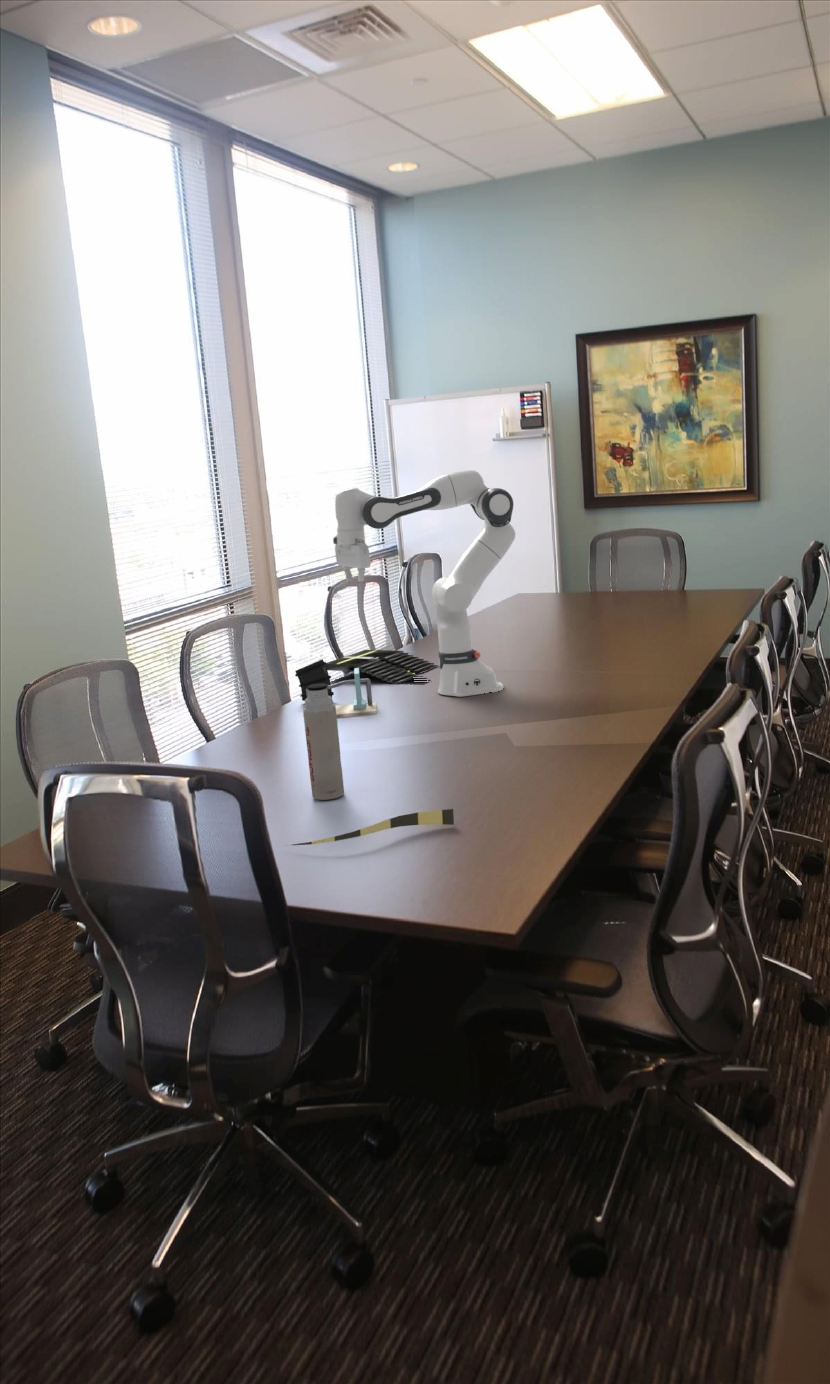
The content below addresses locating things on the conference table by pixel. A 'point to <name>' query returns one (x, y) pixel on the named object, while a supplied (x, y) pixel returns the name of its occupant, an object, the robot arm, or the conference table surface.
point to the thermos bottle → (323, 744)
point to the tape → (397, 824)
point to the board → (349, 710)
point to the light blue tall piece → (358, 692)
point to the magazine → (313, 677)
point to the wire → (368, 682)
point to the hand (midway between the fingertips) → (355, 580)
